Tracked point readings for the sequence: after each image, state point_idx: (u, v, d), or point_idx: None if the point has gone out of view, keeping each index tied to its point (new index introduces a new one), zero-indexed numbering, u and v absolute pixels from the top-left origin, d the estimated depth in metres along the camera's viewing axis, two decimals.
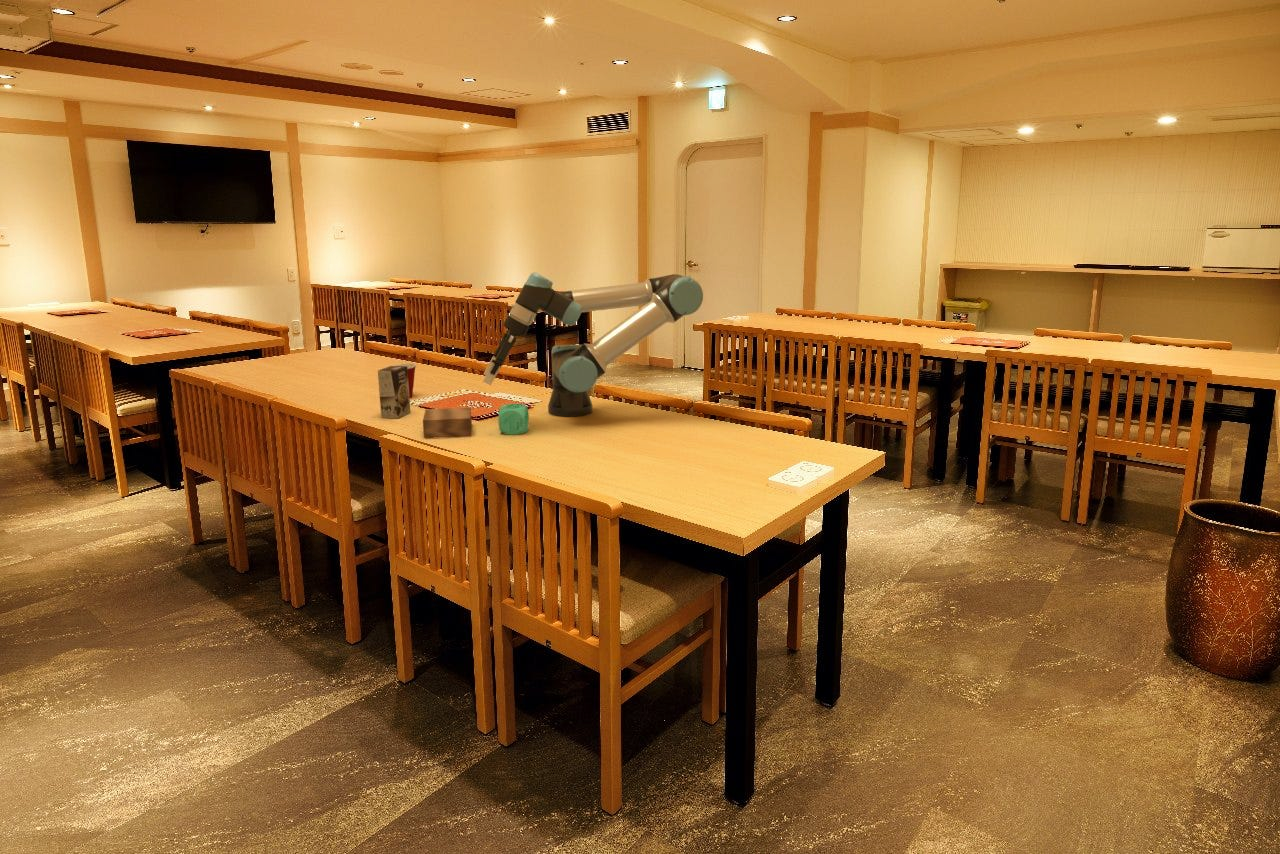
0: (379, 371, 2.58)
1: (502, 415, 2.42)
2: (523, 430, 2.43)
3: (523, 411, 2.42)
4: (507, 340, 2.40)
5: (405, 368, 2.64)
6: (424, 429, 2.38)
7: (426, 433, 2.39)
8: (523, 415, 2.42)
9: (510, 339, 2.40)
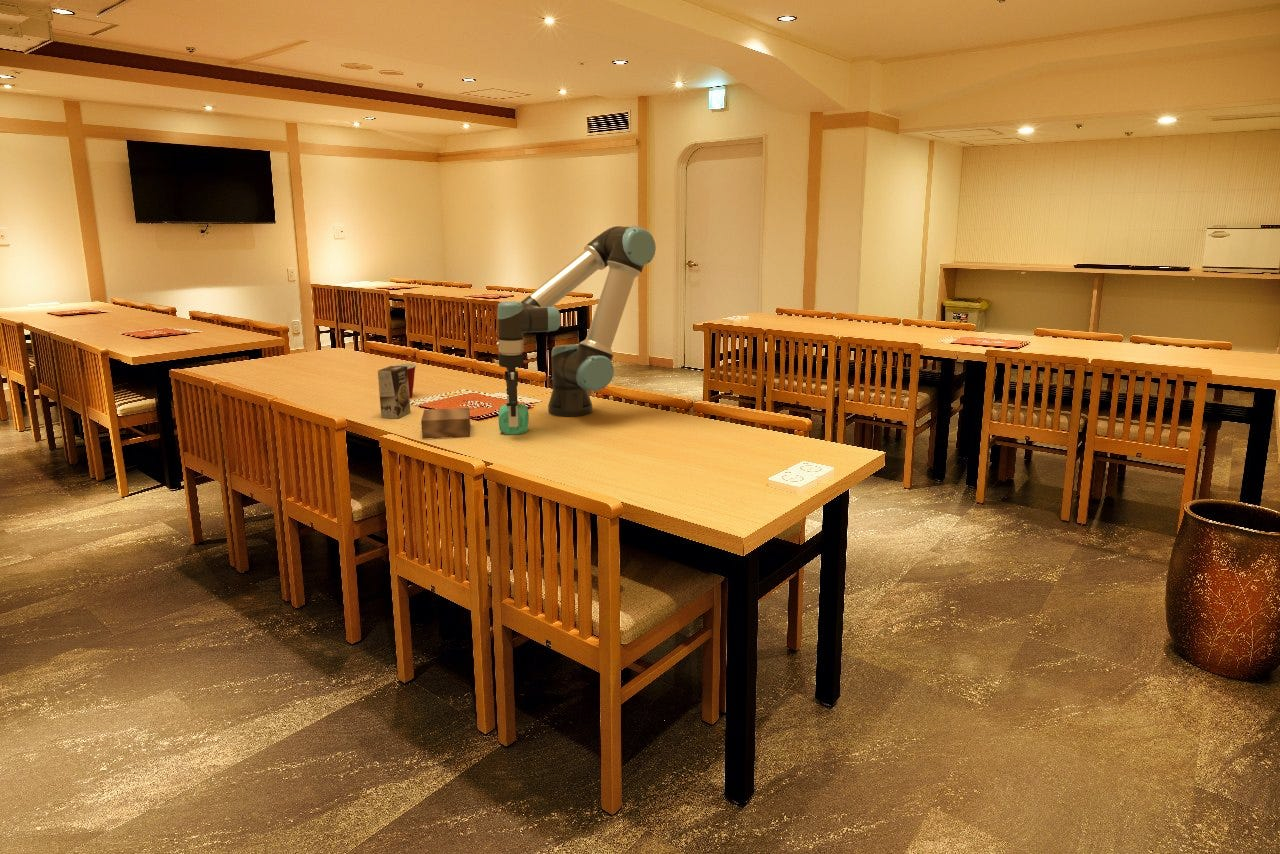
0: (379, 371, 2.58)
1: (502, 415, 2.41)
2: (523, 430, 2.43)
3: (523, 411, 2.42)
4: (510, 379, 2.35)
5: (405, 368, 2.64)
6: (422, 429, 2.38)
7: (424, 433, 2.38)
8: (523, 415, 2.42)
9: (512, 376, 2.35)
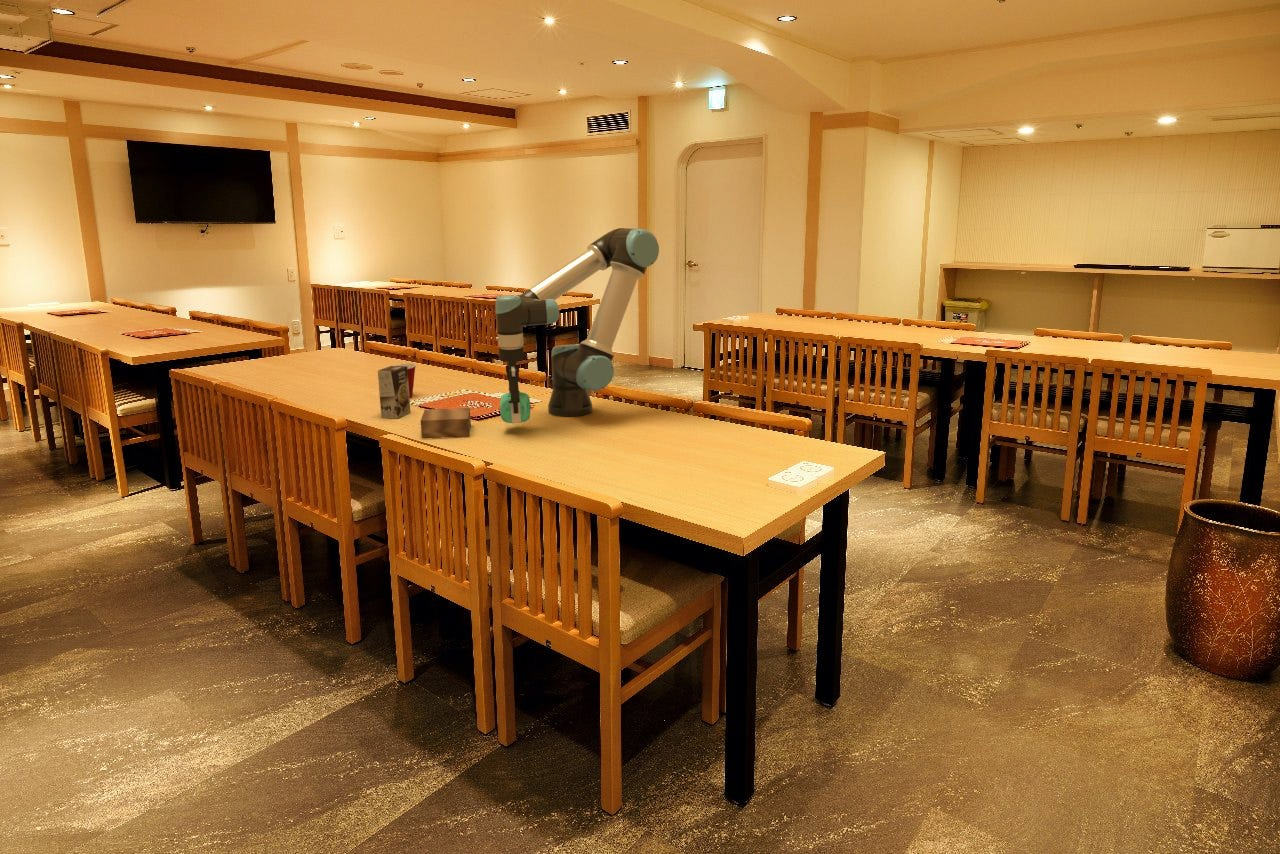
0: (379, 371, 2.58)
1: (503, 404, 2.41)
2: (525, 418, 2.43)
3: (524, 399, 2.42)
4: (511, 376, 2.36)
5: (405, 368, 2.64)
6: (422, 429, 2.38)
7: (424, 433, 2.38)
8: (524, 403, 2.41)
9: (513, 374, 2.36)
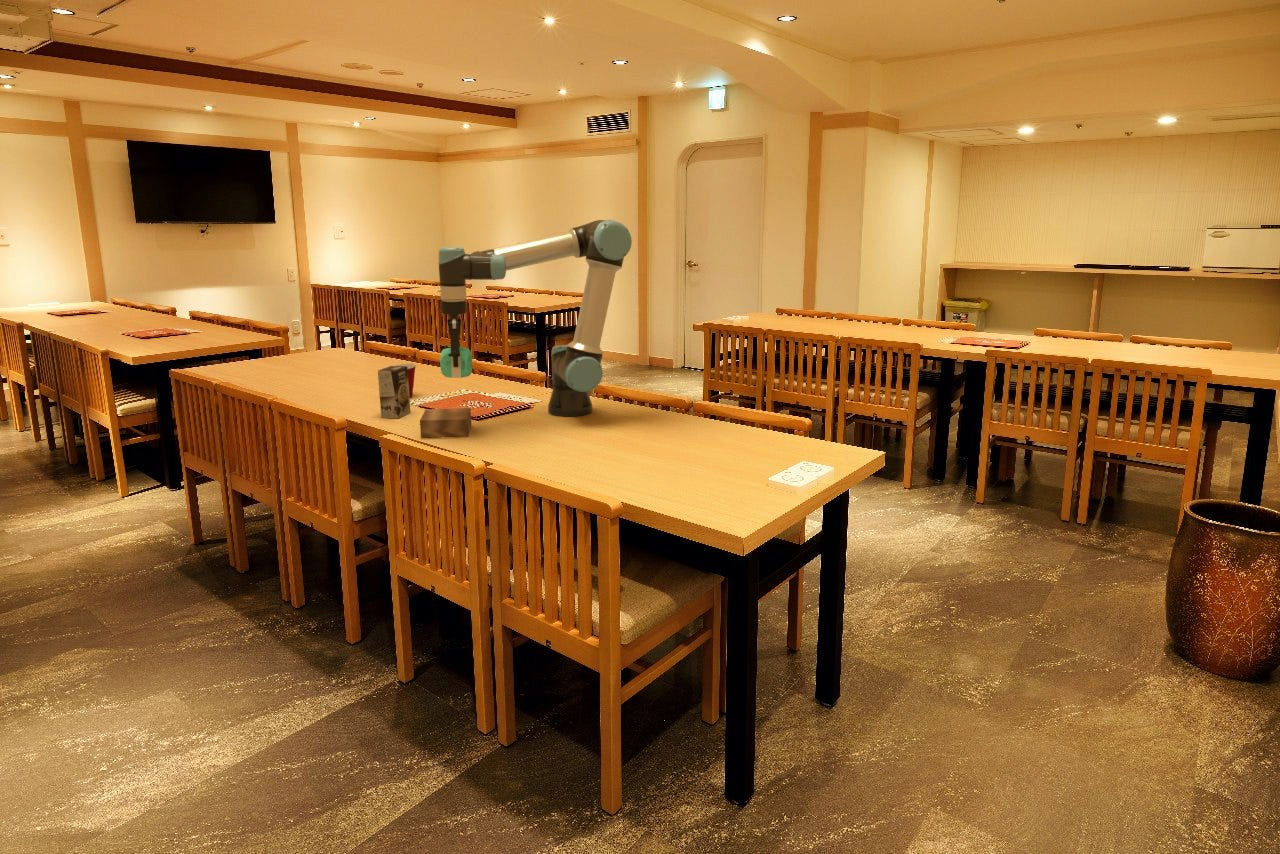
0: (379, 371, 2.58)
1: (444, 357, 2.37)
2: (465, 373, 2.39)
3: (465, 353, 2.38)
4: (451, 328, 2.32)
5: (405, 368, 2.64)
6: (421, 429, 2.38)
7: (423, 433, 2.38)
8: (465, 357, 2.37)
9: (453, 326, 2.32)
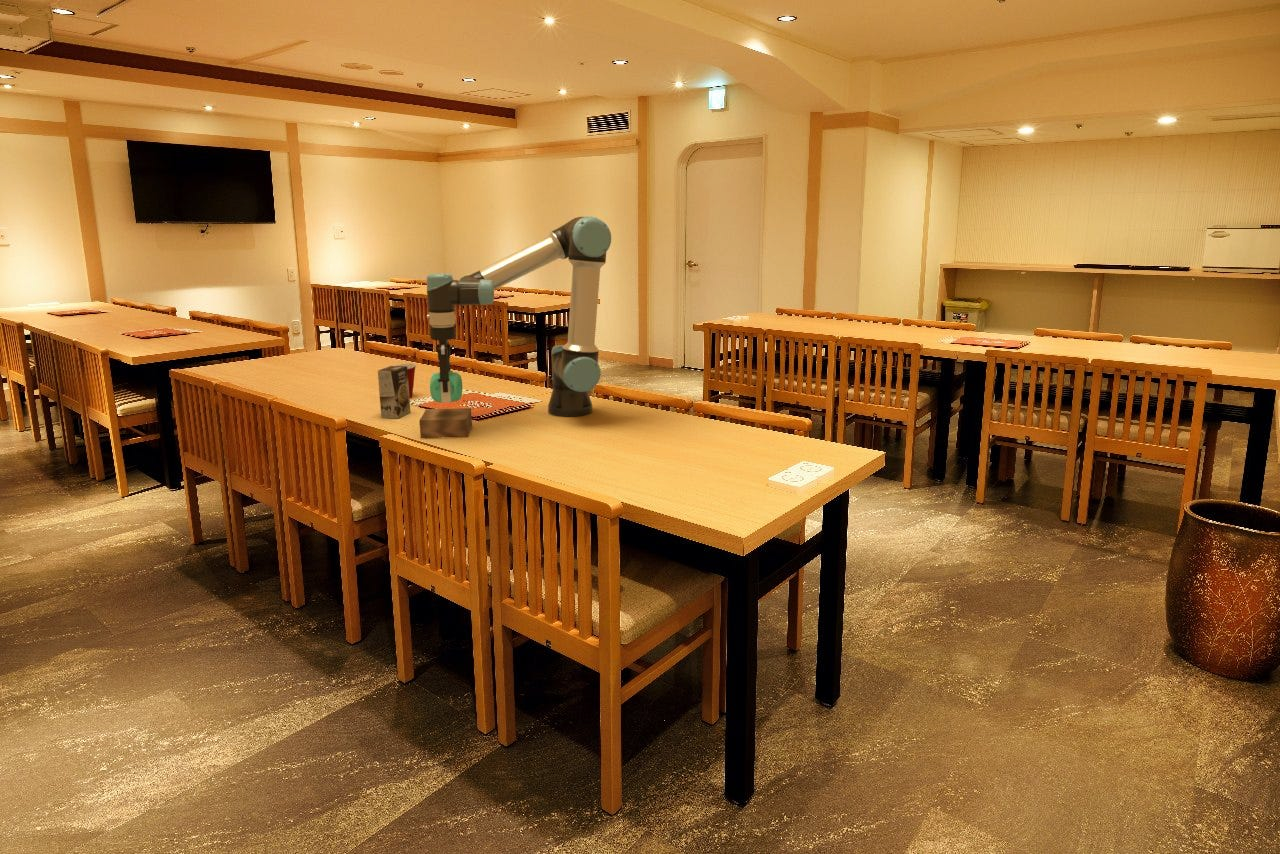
0: (379, 371, 2.58)
1: (433, 382, 2.39)
2: (455, 398, 2.41)
3: (455, 378, 2.40)
4: (440, 354, 2.34)
5: (405, 368, 2.64)
6: (421, 429, 2.38)
7: (423, 433, 2.38)
8: (455, 382, 2.39)
9: (442, 352, 2.34)
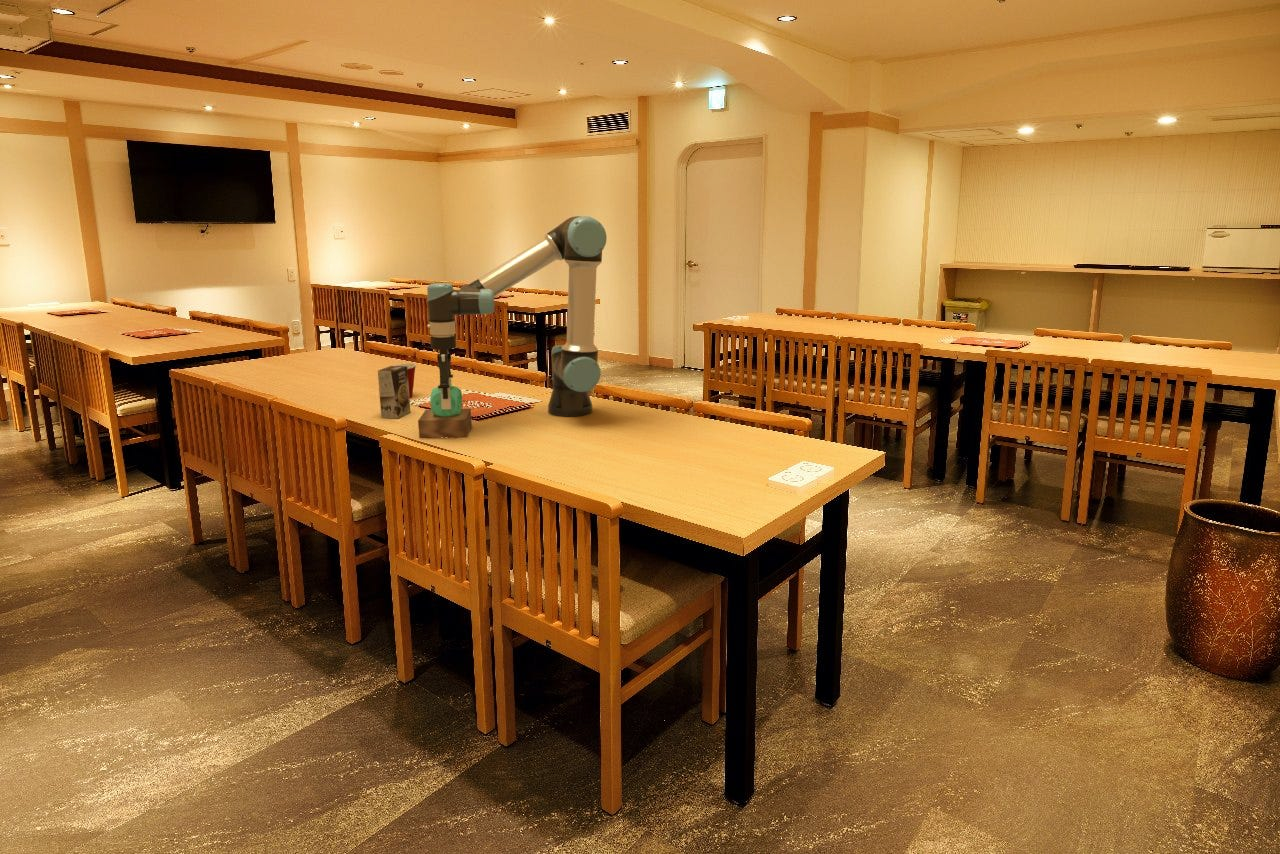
0: (379, 371, 2.58)
1: (434, 397, 2.40)
2: (456, 412, 2.42)
3: (455, 393, 2.41)
4: (440, 361, 2.34)
5: (405, 368, 2.64)
6: (419, 429, 2.38)
7: (421, 433, 2.38)
8: (455, 397, 2.40)
9: (443, 358, 2.34)
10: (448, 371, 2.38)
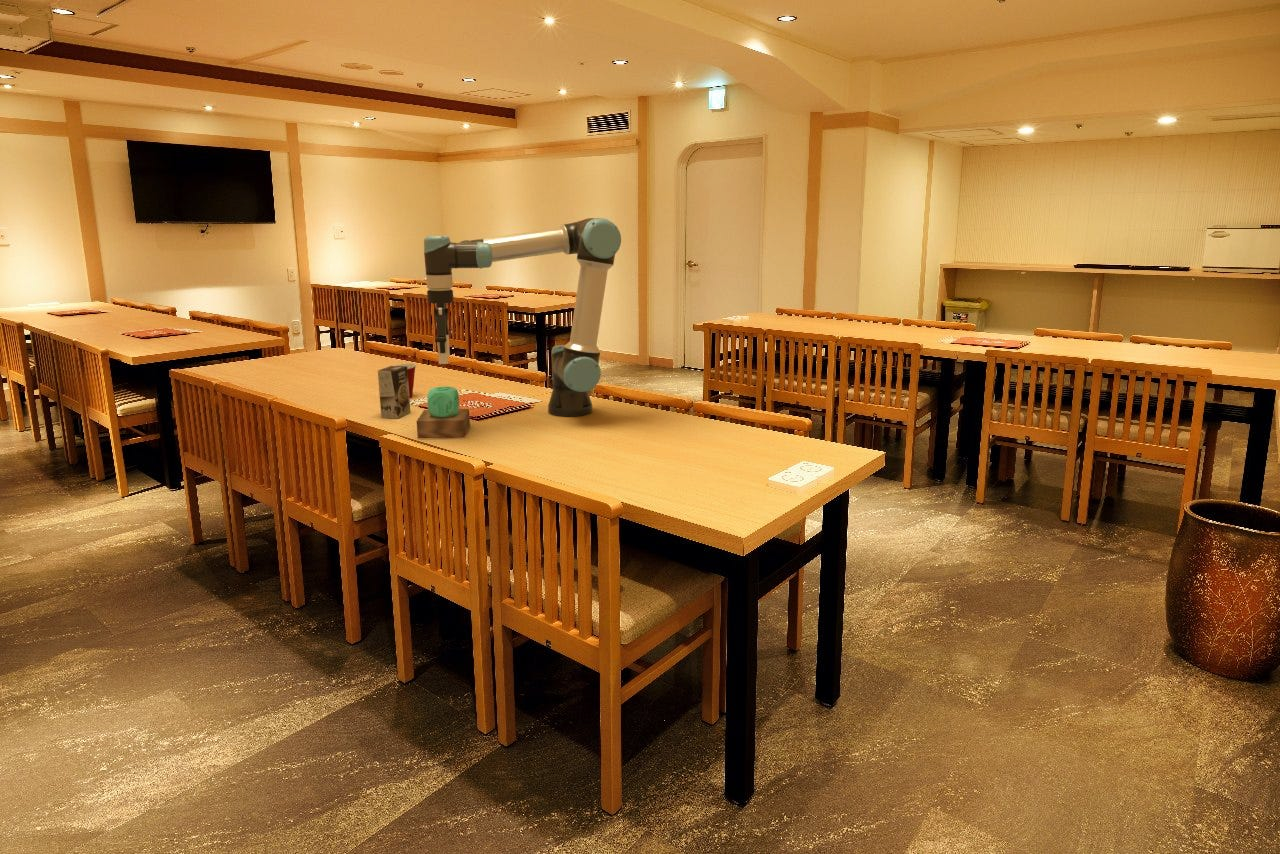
0: (379, 371, 2.58)
1: (431, 398, 2.39)
2: (453, 413, 2.41)
3: (452, 393, 2.40)
4: (437, 314, 2.30)
5: (405, 368, 2.64)
6: (418, 430, 2.38)
7: (420, 433, 2.38)
8: (452, 397, 2.40)
9: (440, 312, 2.30)
10: (445, 325, 2.34)
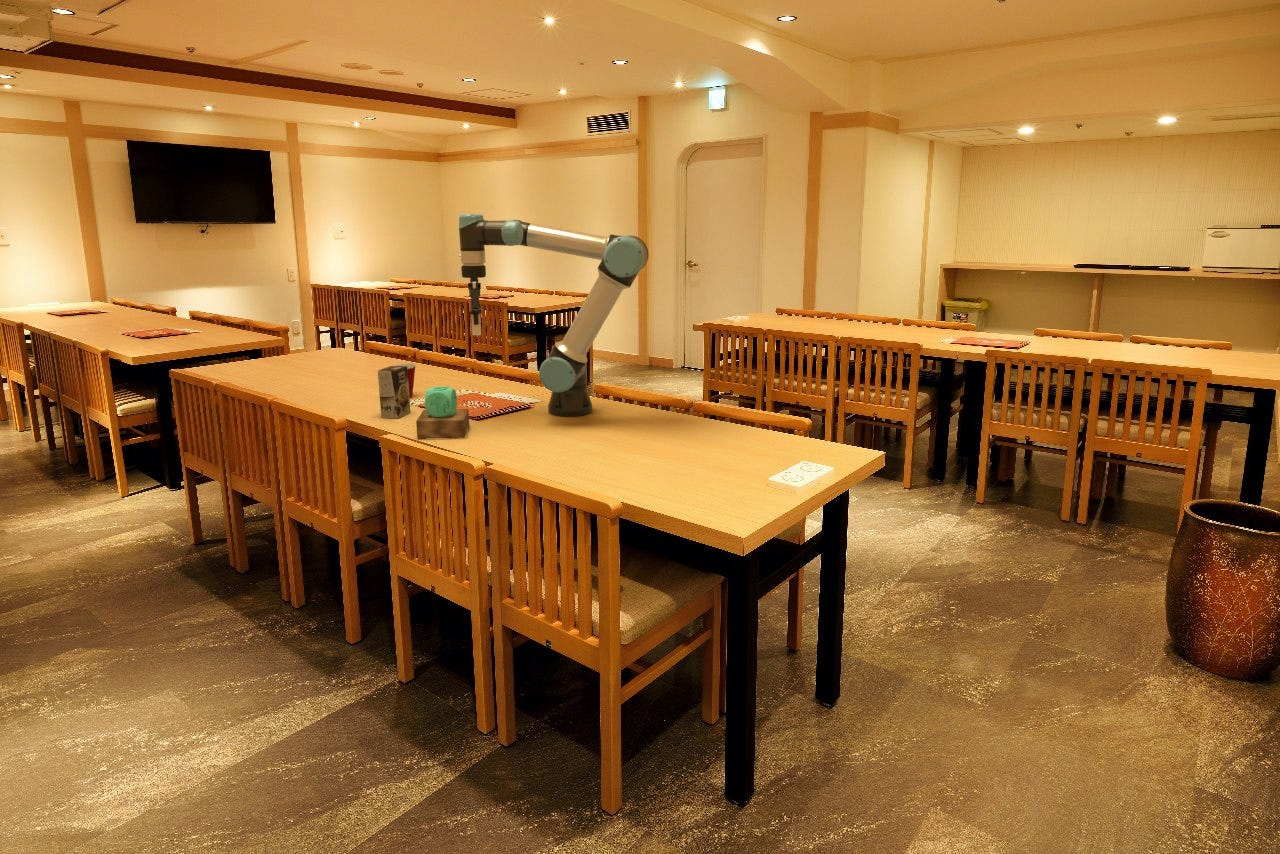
0: (379, 371, 2.58)
1: (428, 398, 2.39)
2: (450, 412, 2.41)
3: (450, 393, 2.40)
4: (472, 288, 2.44)
5: (405, 368, 2.64)
6: (417, 430, 2.37)
7: (419, 434, 2.38)
8: (450, 397, 2.39)
9: (474, 285, 2.44)
10: None
